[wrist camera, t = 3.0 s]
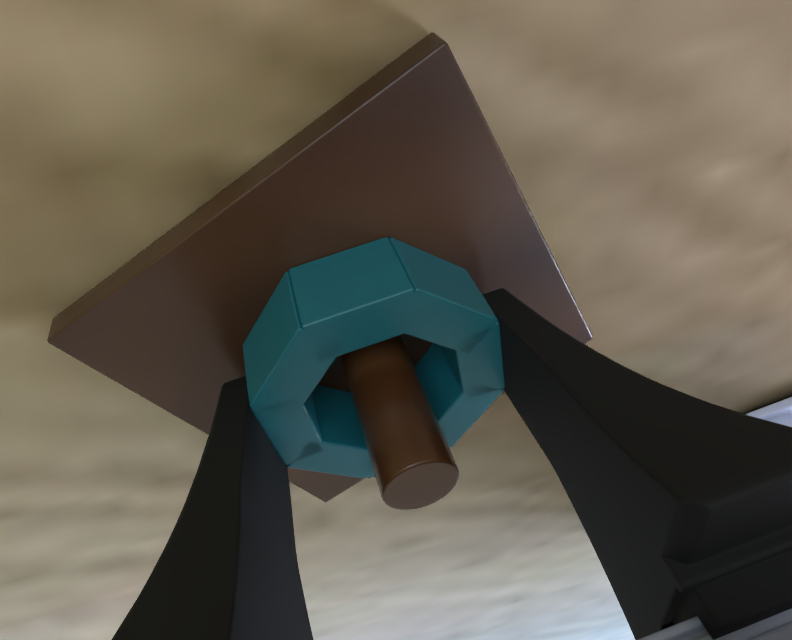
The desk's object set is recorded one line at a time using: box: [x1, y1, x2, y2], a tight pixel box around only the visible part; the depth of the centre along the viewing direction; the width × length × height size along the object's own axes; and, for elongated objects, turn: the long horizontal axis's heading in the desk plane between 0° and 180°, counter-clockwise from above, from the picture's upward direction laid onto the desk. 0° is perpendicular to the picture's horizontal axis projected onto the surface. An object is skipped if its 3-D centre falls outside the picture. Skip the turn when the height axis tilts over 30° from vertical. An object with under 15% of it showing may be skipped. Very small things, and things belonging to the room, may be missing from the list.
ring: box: [243, 237, 505, 479], centre depth 13 cm, size 6×6×2 cm
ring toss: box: [47, 32, 593, 510], centre depth 13 cm, size 10×10×5 cm
